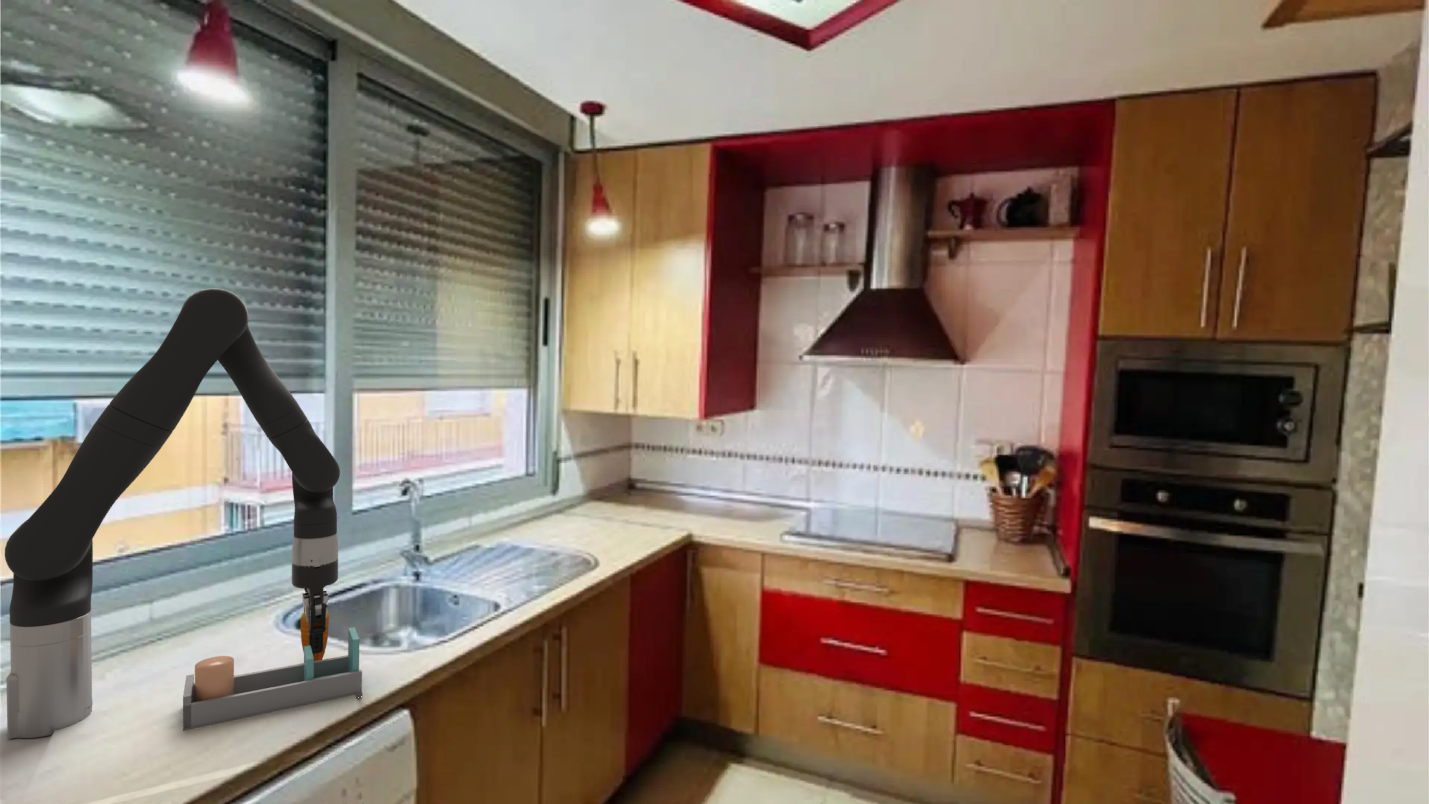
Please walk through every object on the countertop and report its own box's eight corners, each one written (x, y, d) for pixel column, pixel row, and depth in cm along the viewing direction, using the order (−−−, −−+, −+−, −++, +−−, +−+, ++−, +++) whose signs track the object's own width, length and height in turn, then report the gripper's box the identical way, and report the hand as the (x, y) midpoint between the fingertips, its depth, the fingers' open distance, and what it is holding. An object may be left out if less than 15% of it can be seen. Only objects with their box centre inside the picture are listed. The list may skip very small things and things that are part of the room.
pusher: (306, 699, 119) (306, 648, 119) (303, 684, 124) (304, 635, 124) (358, 688, 124) (359, 639, 123) (354, 674, 129) (354, 627, 128)
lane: (182, 735, 108) (182, 699, 108) (186, 707, 116) (186, 673, 116) (362, 697, 122) (362, 664, 122) (354, 675, 130) (354, 644, 130)
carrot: (323, 661, 136) (323, 585, 135) (334, 669, 132) (334, 591, 132) (294, 669, 132) (295, 591, 131) (305, 678, 129) (306, 597, 128)
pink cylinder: (194, 721, 111) (193, 672, 110) (195, 707, 115) (195, 660, 115) (233, 713, 114) (233, 665, 113) (234, 699, 118) (234, 653, 118)
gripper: (289, 551, 135) (289, 638, 136) (294, 571, 123) (294, 666, 124) (333, 546, 139) (333, 631, 140) (342, 565, 127) (341, 657, 128)
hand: (314, 647), depth 132 cm, fingers closed on carrot, 4 cm apart
